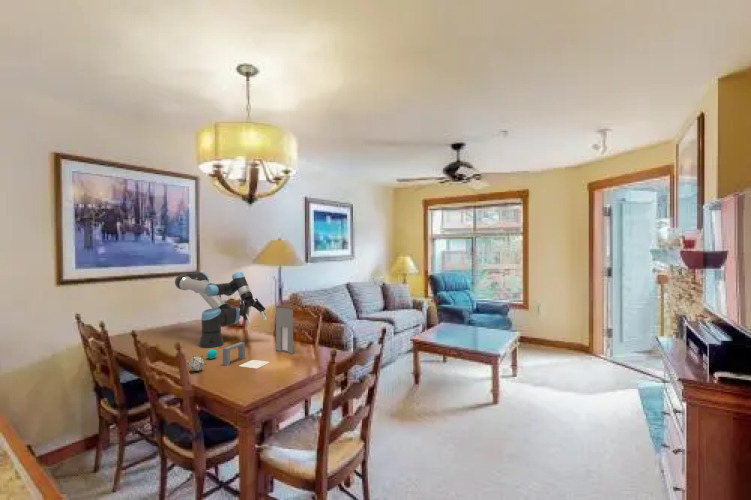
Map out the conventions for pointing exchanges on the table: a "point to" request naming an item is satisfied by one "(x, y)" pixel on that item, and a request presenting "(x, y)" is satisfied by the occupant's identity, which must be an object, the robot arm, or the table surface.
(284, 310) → the cabinet
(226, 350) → the bridge
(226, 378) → the table surface
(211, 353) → the ball
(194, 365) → the game die
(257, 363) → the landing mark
